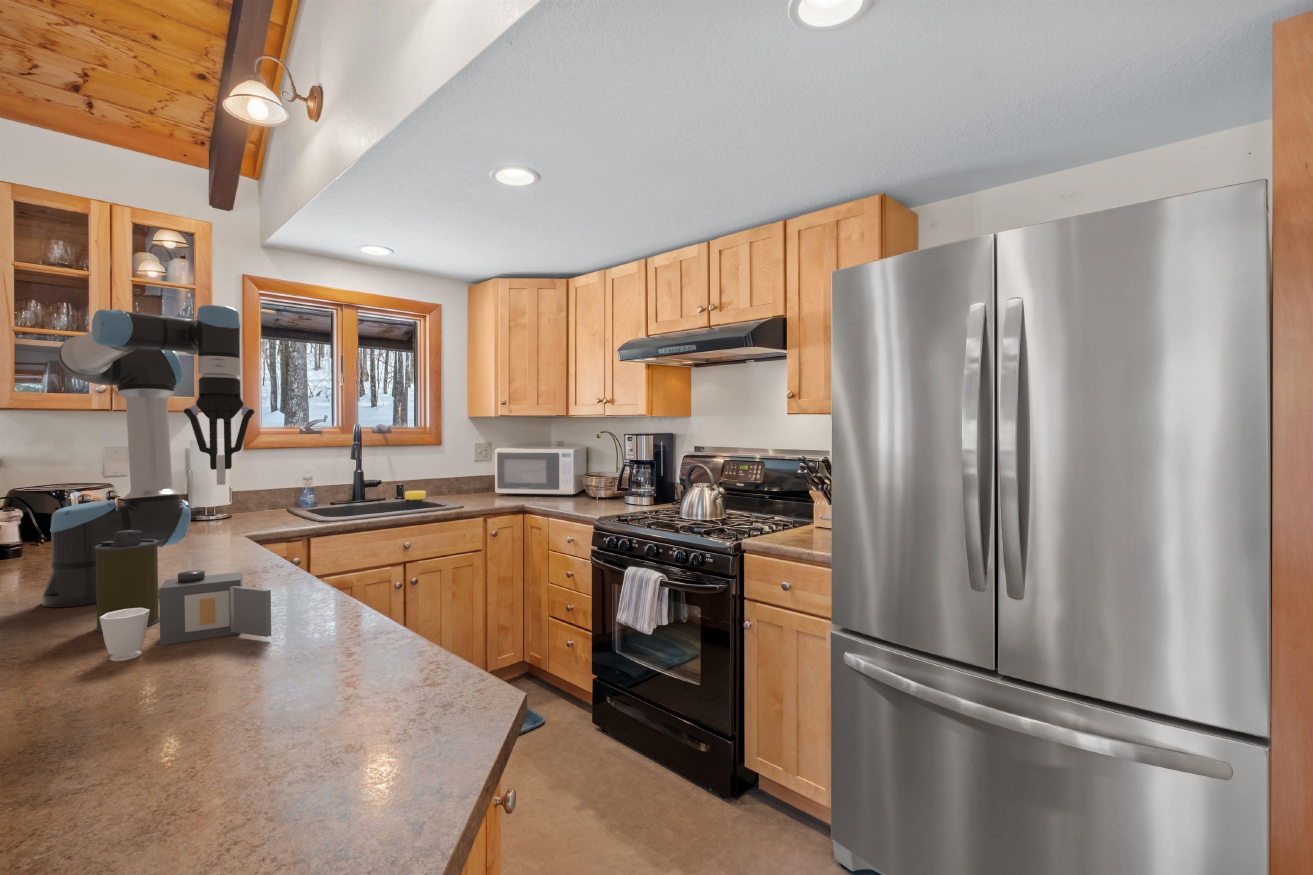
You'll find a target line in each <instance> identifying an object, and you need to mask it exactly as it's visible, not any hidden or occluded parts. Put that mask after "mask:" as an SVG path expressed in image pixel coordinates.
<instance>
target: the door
mask: <svg viewBox="0 0 1313 875" xmlns="http://www.w3.org/2000/svg"><path fill="white" fill-rule="evenodd" d="M271 594H272V590H271V589H268V588H267V589H266V588H259V587H258V588H257V587H256V588H255V587H248V586H243V587H241V586H231V587H230V618H231V632H236V633H241V634H244V635H251V636H258V637H266V638H267V637H270V636H272V599H271V598H272V596H271Z"/></svg>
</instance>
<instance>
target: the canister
mask: <svg viewBox="0 0 1313 875" xmlns="http://www.w3.org/2000/svg"><path fill="white" fill-rule="evenodd" d="M141 534H142V531H140V530H125V531H119V532H115V533H114V538H113V541H106V542H101V543H99V544H98V545H96V546H95V547H94V549H95V550H96V594H97V603H96V627H95V631H96V632H99V633H103V631H102V627H101V623H100V618H99V617H101V616H103V615H105V614H106V613H109V612H113V611H118V610H122V609H131V608H145V609H149V610H150V612H149V617H148V623H147V627H150V626H152V625H155V624H157V623H158V622H160V608H159V566H158V565H159V563H158V561H159V560H158V559H159V558H158V557H159V556H158V547H157V544H158V542H159V541H158V540H155V539H141Z"/></svg>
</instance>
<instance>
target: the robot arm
mask: <svg viewBox="0 0 1313 875" xmlns="http://www.w3.org/2000/svg"><path fill="white" fill-rule="evenodd" d="M238 311H239V310H237V309H235V308H233V307H230V306H225V305H216V304H215V305H214V304H211V305H210V304H204V305H200V306H199V307H198V309H197V315H196V319H192V318H183V317H176V316H175V317H174V316H167V315H166V316H165V315H159V314H158V315H156V314H150V313H141V312H134V311H132V312H131V311H125V310H121V309H98V310H96V311H95V312H94V315H93V318H92V320H91V331H88V332H87V333H85V334H83V335H82V334H81V335H75V336H73V337H70V338H68V339H66V340H65V341H64V342H63V343H62V344H61V345H60V346H59V349H58V353H57V358H58V362H59V364H60V366H61V367H62V369H64V371H66V372H67V373H68V374H70V375H71V376H73V377H74V378H76V379H79V380H80V381H84V382H87V383H91V384H95V385H102V386H103V385H105V386H116V388H117V390H116V391H117V394H118V395H119V396H120V397H122V398H123V399H124V400H125V407H126V408H125V409H126V427H127V445H128V447H127V448H128V464H129V481H130V483H129V484H130V491H129V492H128V493H127V494H126V495H124V497H123V504H121V505H117V503H116V502H115V500H100V501H91V502H86V503H79V504H74V505H70V506H69V505H68V506H65V507H62V508H59V509H57V510H56V511H54V512H53V513H52V514H51V521H50V529H49V531H50V539H51V540H50V541H51V542H50V543H51V573H50V575H49V577H48V580H47V583H46V585H45V587H44V590H43V593H42V595H41V596H42V597H41V600H42V601H41V602H42V603H41V604H42V606H43V607H46V608H69V607H71V608H72V607H77V606H85V605H86V606H87V605H92V604H97V594H96V550H95V549H94V547H95V546H96V545H98V544H99V543H101V542H106V541H113V538H114V533H115V532H119V531H125V530H140V531H142V534H141V539H155V540H158V541H159V542H158V544H157V548H159V547H160V548H163V547H165V546H173V545H176V544H180V543H181V542H182V541H183V540H184V539H185V538H186V536H187V534H188V533H189V529H190V526H191V517H192V516H191V515H192V512H191V511H192V510H191V508H190V504H189V501H187V500H186V499H185V500H184V499H181V493H180V492H179V491H178V490H176V489H175V488H174V487H173V473H172V455H171V441H170V436H171V435H170V422H169V406H168V399H169V398H170V397H172V396H173V395H174V394H175V389H177V388H179V387H180V386H181V384H182V383H183V378H182V377H183V367H182V362H181V360H180V358H179V357H180V356H179V355H178V353H177V352H179V353H185V354H188V355H197V356H198V364H197V365H198V375H199V376H201V377H199V378H198V398H197V399H196V401H195V404H193V405H192V406H190V407H187V408H184V409H183V413H184V414H185V415H186V416H187V418H188V419H189V420H190V424H191V427H192V430H193V434H194V437H195V439H196V443H197V446H198V449H199V451H200V452H202V453H204V454H208V455H209V462H210V463H209V465H210V466H209V467H210V469H211V471H212V470H216V485H217V486H222V485H223V486H225V485H226V483H227V475H226V474H227V470H231V469H232V465H233V463H232V462H233V460H232V458H233V457H232V456H233V454H235V453H238V452H240V451H241V450H242V448H243V443H244V441H245V436H246V434H247V433H246V432H247V429H248V427H249V426H248V425H249V422H250V420H251V418H252V416H253V415H254V414H255V412H256V411H255V410H254V409H253V408H250V407H248V406H246V405H244V402H243V400H242V398H241V395H242V394H241V380H240V378H238V377H240V376H241V356H240V355H241V354H240V353H241V352H240V351H241V348H240V347H241V346H240V345H241V344H240V343H241V342H240V341H241V339H240V336H241V334H240V332H241V329H240V328H241V323H240V314H239V312H238ZM199 410H200V411H201V412H202V413H203V415H204V416H205V417H206V418H207V419H208V420H209V421H208V422H209V447H208V446H207V444H206V443H207V442H206V439H205V436H204V434H203V431H202V427H201V424H200V421H199V418H198V415H199V414H200V413H199ZM240 410H241V416H243V417H242V419H241V423H240V426H239V429H238V433H237V437H236V440H235V441H236V442H235V444H234V446H232V419H233V418H235V416H236V415H237V414H238V413H239V412H240ZM220 419H221V420H223V446H224V447H223V451H224V452H223V453H224V454H219V452H218V420H220Z"/></svg>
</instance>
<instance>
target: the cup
mask: <svg viewBox="0 0 1313 875" xmlns="http://www.w3.org/2000/svg"><path fill="white" fill-rule="evenodd" d="M149 612H150V610H149V609H145V608H131V609H122V610H118V611H113V612H109V613H106V614H105V615H103V616H101V617H99V618H100V623H101V627H102V631H103V632H102V634H103V641H104V644H105V647H106V649H107V651H108V654H109V655H112V656H110V657H109V660H110V661H113V662H122V661H127V660H128V661H129V660H132V659H135V658H138V657H139V656H141V655H142V651H140V649H142V648H143V646H144V645H143V644H144V641H145V638H146V634H147V629H148V626H147V623H148V617H149Z"/></svg>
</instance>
